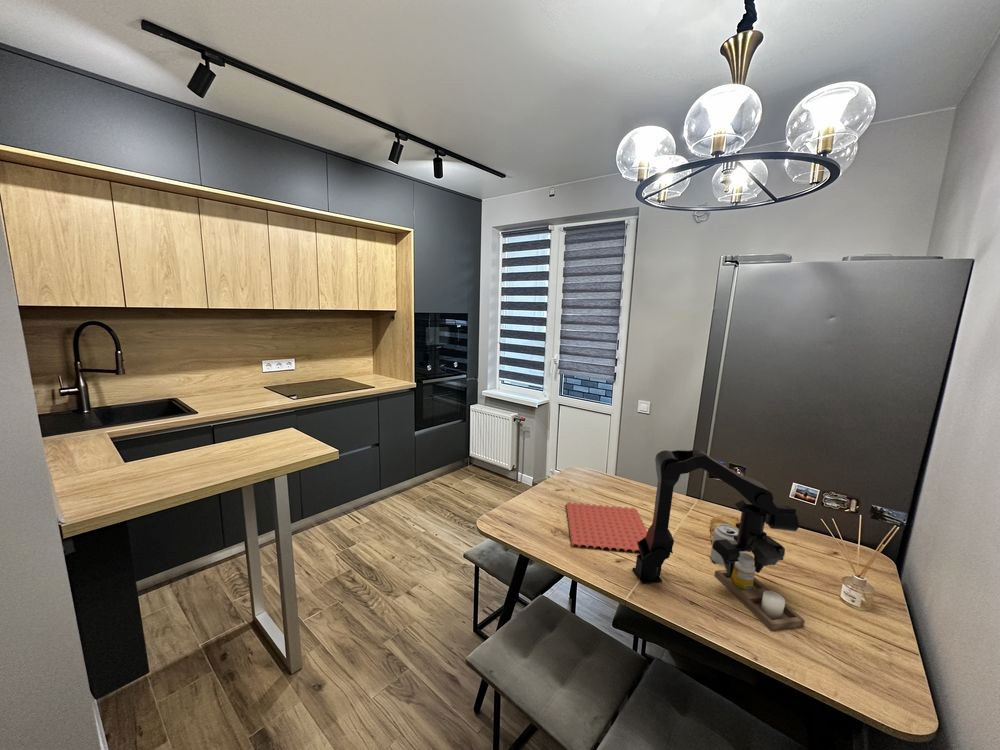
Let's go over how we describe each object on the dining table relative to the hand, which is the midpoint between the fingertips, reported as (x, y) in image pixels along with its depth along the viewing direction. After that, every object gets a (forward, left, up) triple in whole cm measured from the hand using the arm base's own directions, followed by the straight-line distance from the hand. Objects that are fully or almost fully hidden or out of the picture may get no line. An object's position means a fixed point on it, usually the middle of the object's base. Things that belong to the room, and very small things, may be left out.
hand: (743, 573), depth 112 cm
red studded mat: (-26, +35, -6) cm, 44 cm away
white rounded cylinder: (0, -10, -4) cm, 11 cm away
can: (+4, +12, -6) cm, 14 cm away
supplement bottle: (0, 0, -4) cm, 4 cm away
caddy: (0, -5, -5) cm, 7 cm away
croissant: (+16, +26, -6) cm, 31 cm away
